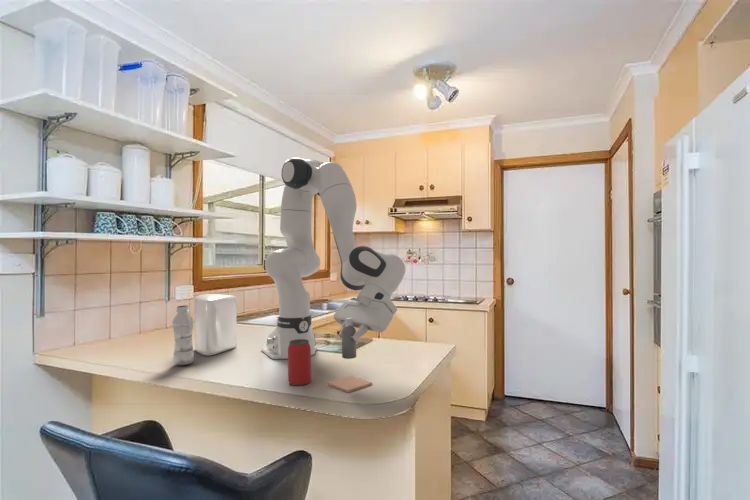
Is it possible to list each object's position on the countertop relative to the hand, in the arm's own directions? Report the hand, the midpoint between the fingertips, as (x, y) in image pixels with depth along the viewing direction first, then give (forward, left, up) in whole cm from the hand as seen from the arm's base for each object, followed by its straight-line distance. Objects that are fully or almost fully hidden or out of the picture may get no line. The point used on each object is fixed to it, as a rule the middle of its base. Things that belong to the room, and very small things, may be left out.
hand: (347, 338), depth 114 cm
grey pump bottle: (0, +1, -5) cm, 5 cm away
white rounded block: (-69, -12, -14) cm, 71 cm away
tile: (0, +1, -13) cm, 13 cm away
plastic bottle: (-56, -26, -14) cm, 63 cm away
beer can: (-12, -8, -14) cm, 20 cm away
